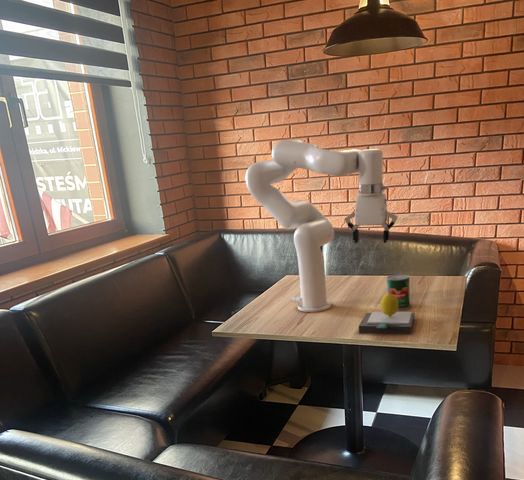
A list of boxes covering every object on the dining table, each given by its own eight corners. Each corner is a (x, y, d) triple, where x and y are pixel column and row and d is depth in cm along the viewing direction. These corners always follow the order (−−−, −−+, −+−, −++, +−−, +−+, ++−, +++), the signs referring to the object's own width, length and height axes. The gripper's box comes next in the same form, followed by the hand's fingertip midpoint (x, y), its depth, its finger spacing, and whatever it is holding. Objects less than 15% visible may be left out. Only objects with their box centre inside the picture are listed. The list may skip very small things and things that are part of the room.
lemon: (398, 319, 170) (398, 294, 167) (381, 319, 171) (380, 295, 169) (398, 314, 175) (397, 290, 172) (381, 314, 176) (380, 291, 174)
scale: (357, 335, 169) (357, 326, 168) (366, 319, 183) (366, 310, 182) (409, 336, 163) (409, 327, 162) (414, 320, 177) (414, 311, 176)
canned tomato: (402, 302, 197) (402, 273, 193) (414, 307, 190) (413, 277, 186) (383, 306, 196) (382, 276, 192) (393, 311, 188) (393, 280, 185)
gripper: (399, 187, 174) (398, 239, 180) (347, 189, 180) (348, 240, 186) (395, 189, 167) (395, 244, 173) (341, 192, 174) (342, 244, 180)
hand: (370, 242), depth 180 cm, fingers open, 9 cm apart
